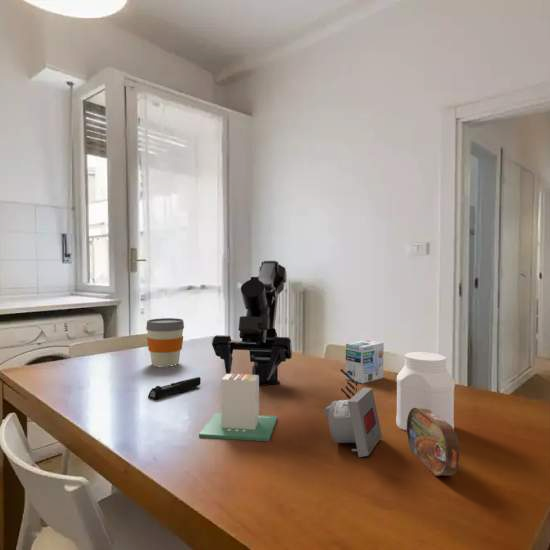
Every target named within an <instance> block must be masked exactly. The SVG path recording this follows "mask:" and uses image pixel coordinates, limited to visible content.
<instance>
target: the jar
mask: <svg viewBox="0 0 550 550" xmlns="http://www.w3.org/2000/svg"><path fill="white" fill-rule="evenodd" d="M455 385H456V384H455V380H454V378H453V377H452V375H451V374H450V372H449V371H448V368H447V357H446V356H444V355H443V354H441V353H440V354H438V353H435V352H426V351H425V352H424V351H416V352H415V351H412V352H408V353H405V354H404V366H403V367H402V369H400V372H398V374H397V376H396V417H395V418H396V419H395V423H396V426H397V427H398V428H399V429H401V430H404V431H407V419H408V415H409V412H410V410H411V409H413V408H421V409H429V410H430V411H432V412H433V413H434V414H436V415H437V416H439V417H440V418H441V419H443V420H444V421H446V422H447V423H448V424H450V425H451V426H452V428H453V429H454V430H455V422H454V420H455V419H454V413H455V408H454V407H455Z"/></svg>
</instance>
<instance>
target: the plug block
mask: <svg viewBox="0 0 550 550" xmlns="http://www.w3.org/2000/svg"><path fill="white" fill-rule="evenodd" d="M220 385H221V387H220V388H221V390H220V391H221V396H220V397H221V402H220V403H221V405H220V406H221V409H220V410H221V412H220V413H221V428H237V429H254V430H255V428H256V426H257V424H258V422H259V415H260V413H259V412H260V385H259V375H252V373H247V374H245V373H230V374H226V373H225V375H224V376H223V377H222V378H221V383H220Z"/></svg>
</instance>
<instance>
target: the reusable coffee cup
mask: <svg viewBox="0 0 550 550" xmlns="http://www.w3.org/2000/svg"><path fill="white" fill-rule="evenodd" d="M184 324H185V323H184V319H182V318H173V317H167V318H153V319H148V320H146V327H145V328H146V332H147V337H146V340H147V348H148V351H149V353H150V361H151V366H152V365H154V366H171V365H175V364H178V363H179V364H180V356H181V351H182V349H183V343H184V342H183V341H184V335H183V332H184V329H185V325H184ZM179 364H178V365H179ZM154 366H153V367H154ZM171 367H172V366H171Z"/></svg>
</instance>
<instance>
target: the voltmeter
mask: <svg viewBox="0 0 550 550" xmlns="http://www.w3.org/2000/svg"><path fill="white" fill-rule="evenodd" d="M340 372H341V373H342V374H343V375H345V377H346V376H347V377H348V378H349V379H350V380H346V381H347V382H346V384H347V385H348V386H349V387H348V386H347V385H345V389H346V390H347V391H348V393H350V394H351V396H352V397H351V396H350V395H349V394H348V393H347V391H345V389H343V388H340V389H341V392H342V393H343V394H344V395H345V396H346V398H348V399H341V400H340V399H339V400H333V401H332V402H331V403H330V404H329V405H328V406H326V407H325V408H324V413H325V414H324V415H325V418H327V419H328V428H329V432H330V435H331V438H332V439H333V441H334V442H335V443H337V444H353V443H354V444H355V445H356V448H351V451H352V452H357V455H358V458H362V457H368V456H369V455H370V454H371V453H372V451H373V450H374V448H375V447H376V445H378V443H379V441H380V440H381V438H382V437H383V435H382V431H381V425H380V420H379V415H378V411H377V407H376V401H375V395H374V392H373V388H372V387H371V388H370V387H362V388H361V389H360V390H359V391H358V388H357V387H358V382H357V381H354V379H352V378H351V376H349V375H348V374H346V371H344V369H342V368H340ZM349 381H351V382H352V383H353V384H355V386H356V387H355V386H354V385H352V383H350V382H349ZM350 388H351V389H352V390H353V391H355V393H354V392H353V391H352V390H351V389H350Z"/></svg>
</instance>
